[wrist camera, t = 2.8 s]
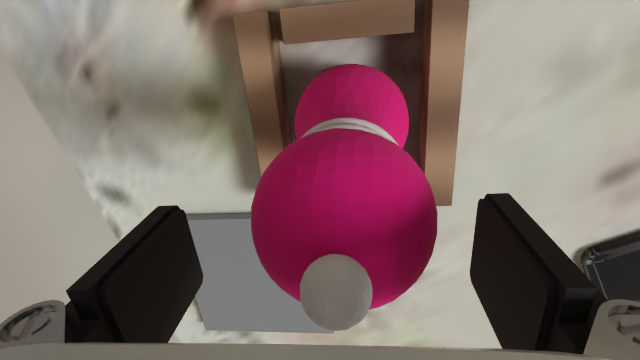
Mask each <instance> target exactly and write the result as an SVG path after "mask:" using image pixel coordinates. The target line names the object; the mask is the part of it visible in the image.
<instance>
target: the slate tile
mask: <svg viewBox="0 0 640 360" xmlns="http://www.w3.org/2000/svg"><path fill="white" fill-rule="evenodd" d="M186 217H187V220H188V224H189V227H190V231H191V234H192V238H193V241H194V244H195V248H196V251H197V255H198V258H199V262H200V265H201V269H202V272H203V282H202V285H201V287H200V289H199V290H198V292H197V294H196V295H195V298H196V301H197V304H198V307H199V310H200V313H201V316H202V319H203V323H204V326H205V329H206V330H224V331H260V332H297V333H334V330H328V329H325V328H323V327H320V326H318V325H317V324H315V323H314V322H313V321H312V320H311V319H310V318H309V316H308V315H307V314H306V313H305V311H304V309H303V306H302V304H301V302H300V301H297V300H296V299H294V298H293V297H292V296H290V295H289V294H287V293H286V292H284V291H283V290H282V289H281V288H280V287H279V286H278V285H277V284H276V283H275V282H274V281H273V280H272V279H271V278H270V277H269V275H268V273H267V272H266V270H265V269H264V267H263V266H262V264H261V262H260V260H259V257H258V255H257V252H256V249H255V246H254V243H253V238H252V232H251V213H231V214H187V215H186Z"/></svg>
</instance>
